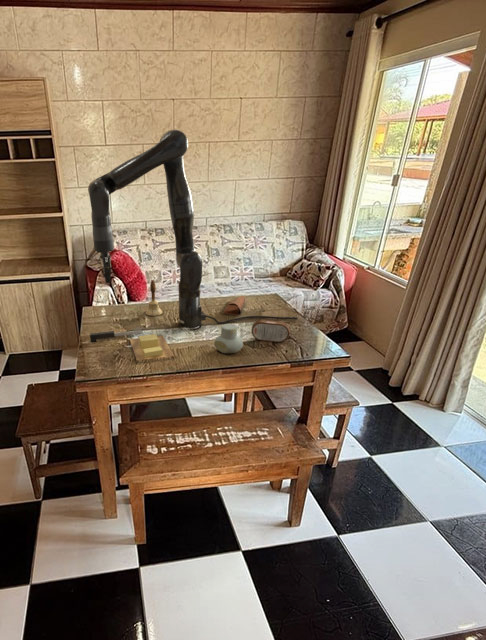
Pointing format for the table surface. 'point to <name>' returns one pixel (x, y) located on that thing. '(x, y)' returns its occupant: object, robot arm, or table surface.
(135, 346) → the board
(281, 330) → the tin
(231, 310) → the sunglasses case
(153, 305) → the hand bell
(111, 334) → the knife
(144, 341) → the butter
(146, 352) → the butter slice
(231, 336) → the air freshener
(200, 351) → the table surface
